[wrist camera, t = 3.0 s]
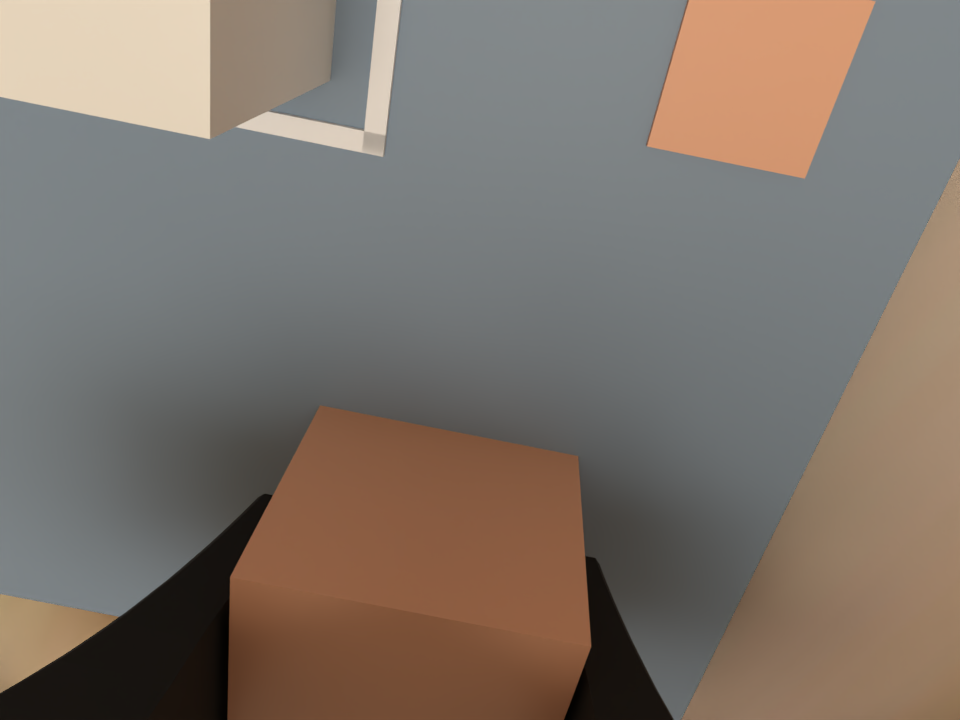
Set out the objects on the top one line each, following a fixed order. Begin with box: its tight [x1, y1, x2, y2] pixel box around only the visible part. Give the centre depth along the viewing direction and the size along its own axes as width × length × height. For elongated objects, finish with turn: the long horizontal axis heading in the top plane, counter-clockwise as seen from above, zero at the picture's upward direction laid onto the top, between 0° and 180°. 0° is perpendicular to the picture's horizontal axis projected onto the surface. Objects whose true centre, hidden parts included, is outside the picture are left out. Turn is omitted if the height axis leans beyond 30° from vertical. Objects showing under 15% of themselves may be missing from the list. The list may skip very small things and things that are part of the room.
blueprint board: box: [0, 0, 960, 720], centre depth 11 cm, size 16×18×1 cm
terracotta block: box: [227, 405, 591, 720], centre depth 12 cm, size 4×4×4 cm
